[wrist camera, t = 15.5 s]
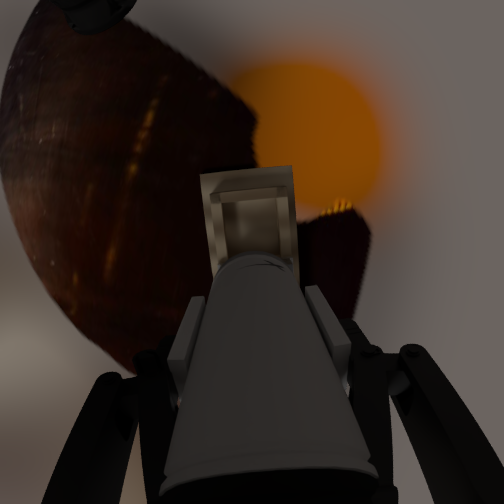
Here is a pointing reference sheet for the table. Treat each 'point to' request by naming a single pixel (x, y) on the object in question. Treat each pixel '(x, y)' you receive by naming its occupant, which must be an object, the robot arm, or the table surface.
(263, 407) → the travel mug
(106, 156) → the table surface
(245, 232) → the holder
